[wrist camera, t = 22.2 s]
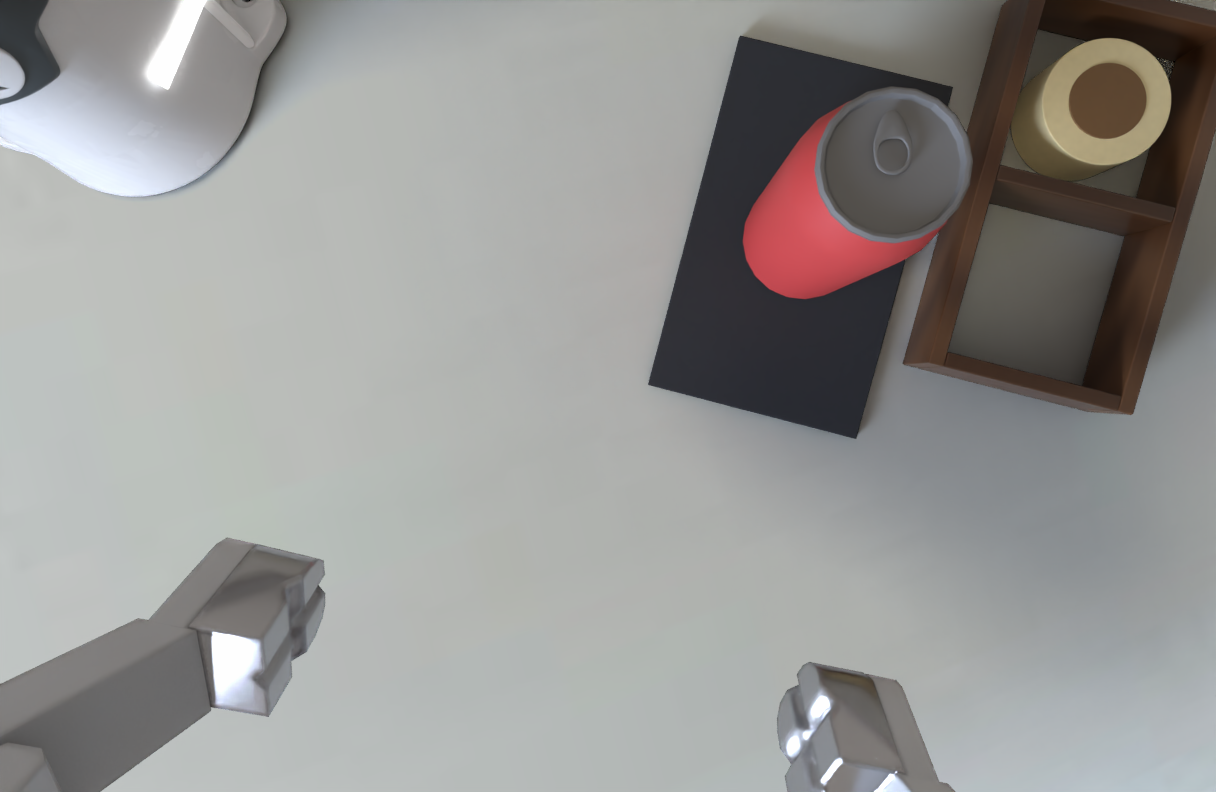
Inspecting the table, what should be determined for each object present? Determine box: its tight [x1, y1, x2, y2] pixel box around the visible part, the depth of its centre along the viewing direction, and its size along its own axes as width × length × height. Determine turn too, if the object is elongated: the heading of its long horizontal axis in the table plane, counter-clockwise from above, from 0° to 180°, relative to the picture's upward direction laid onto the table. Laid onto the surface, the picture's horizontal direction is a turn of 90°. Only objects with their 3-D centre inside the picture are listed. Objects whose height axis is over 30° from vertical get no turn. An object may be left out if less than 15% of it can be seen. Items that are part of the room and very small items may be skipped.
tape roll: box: [1011, 38, 1171, 181], centre depth 32 cm, size 6×6×3 cm
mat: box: [648, 36, 953, 439], centre depth 34 cm, size 20×12×1 cm, turn 165°
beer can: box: [743, 86, 973, 299], centre depth 28 cm, size 7×7×12 cm
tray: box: [903, 0, 1216, 415], centre depth 32 cm, size 20×11×3 cm, turn 165°
